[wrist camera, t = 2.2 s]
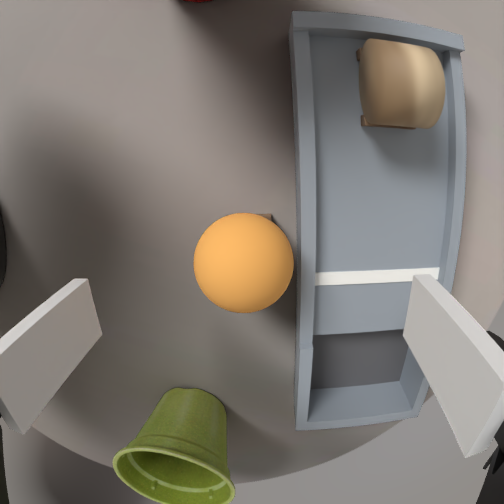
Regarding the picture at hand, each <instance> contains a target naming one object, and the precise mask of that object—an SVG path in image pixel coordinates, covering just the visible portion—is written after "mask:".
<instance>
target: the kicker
mask: <svg viewBox="0 0 504 504" xmlns="http://www.w3.org/2000/svg"><path fill="white" fill-rule="evenodd" d="M356 57H357V61H360V62H359V94H360V101H361V106H362V110H363V113H364V115H360V116H361V126H369V127H384V128H397V129H409V130H413V129H416V128H423V129H429V128H431V127H433V126H434V125H435V124H436V123H437V121H438V120H439V118H440V115H441V113H442V110H443V106H444V101H445V77H444V72H443V68H442V65H441V62H440V60H439V58H438V56H437V55H436V53H435V52H434V51H433V50H431V49H430V48H427V47H422V46H417V45H412V44H406V43H400V42H394V41H387V40H380V39H372V38H370V39H368V40H367V41H366V42H365V43H364V45H363V48H359V49H358V50H357V51H356Z"/></svg>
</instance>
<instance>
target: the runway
mask: <svg viewBox="0 0 504 504" xmlns="http://www.w3.org/2000/svg"><path fill="white" fill-rule="evenodd" d="M370 38H372V39H380V40H387V41H394V42H400V43H406V44H412V45H417V46H422V47H427V48H430V49H431V50H433V51H434V52H435V53H436V55H437V56H438V58H439V60H440V62H441V65H442V68H443V72H444V77H445V101H444V106H443V110H442V113H441V115H440V118H439V120H438V121H437V123H436V124H435V125H434V126H433V127H431V128H429V129H423V128H416V129H413V130H409V129H397V128H384V127H369V126H361V116H360V115H364V113H363V110H362V106H361V101H360V94H359V62H360V61H357V57H356V51H357V50H358V49H359V48H363V45H364V43H365V42H366V41H367V40H368V39H370ZM289 47H290V61H291V77H292V94H293V114H294V137H295V167H296V213H297V302H296V348H295V377H294V410H295V428H296V431H300V430H319V429H332V428H343V427H353V426H362V425H370V424H377V423H384V422H390V421H397V420H402V419H408V418H413V417H418V415H419V412H420V410H421V407H422V405H423V402H424V399H425V397H426V394H427V391H428V389H429V386H430V385H429V383H428V381H427V379H426V377H425V375H424V373H423V371H422V369H421V368H420V366H419V364H418V362H417V360H416V358H415V357H414V355H413V353H412V351H411V349H410V348H409V346H408V344H407V342H406V340H405V339H404V337H403V331H404V326H405V321H406V316H407V311H408V305H409V299H410V293H411V287H412V280H413V275H419V274H430V275H432V276H433V277H434V278H435V279H436V280H437V281H438V282H439V283H440V284H441V285H442V286H443V287H444V288H445V289H446V290H447V291H448V292H449V293H450V294H451V290H452V285H453V280H454V275H455V269H456V264H457V257H458V251H459V244H460V237H461V228H462V219H463V209H464V197H465V181H466V110H465V94H464V83H463V73H462V65H461V57H460V52H462V51H465V48H464V42H463V36H462V35H459V34H455V33H452V32H448V31H444V30H441V29H437V28H432V27H428V26H424V25H419V24H415V23H410V22H404V21H399V20H393V19H387V18H381V17H374V16H366V15H357V14H347V13H335V12H318V11H292V15H291V22H290V28H289Z"/></svg>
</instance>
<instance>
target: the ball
mask: <svg viewBox="0 0 504 504" xmlns="http://www.w3.org/2000/svg"><path fill="white" fill-rule="evenodd" d="M293 266H294V259H293V252H292V248H291V246H290V243H289V241H288V239H287V237H286V236H285V234H284V233H283V231H282V230H281V229H280V228H279V227H278V226H277V225H275V224H274V223H273V222H272V221H270V220H268V219H267V218H264V217H262V216H259V215H256V214H251V213H237V214H232V215H228V216H225V217H223V218H221V219H219V220H217V221H216V222H214V223H213V224H212V225H211V226H209V227H208V228H207V229H206V231H205V232H204V233H203V234H202V236H201V238H200V239H199V241H198V244H197V246H196V249H195V253H194V272H195V276H196V279H197V282H198V284H199V287H200V288H201V290H202V291H203V293H204V294H205V295H206V296H207V297H208V299H210V300H211V301H212V302H213V303H214V304H216V305H217V306H219V307H221V308H223V309H225V310H228V311H231V312H237V313H251V312H256V311H259V310H262V309H264V308H266V307H268V306H270V305H272V304H273V303H274V302H276V301H277V300H278V299H279V298H280V297H281V296H282V295H283V293H284V292H285V290H286V289H287V287H288V285H289V283H290V280H291V277H292V274H293Z"/></svg>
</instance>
